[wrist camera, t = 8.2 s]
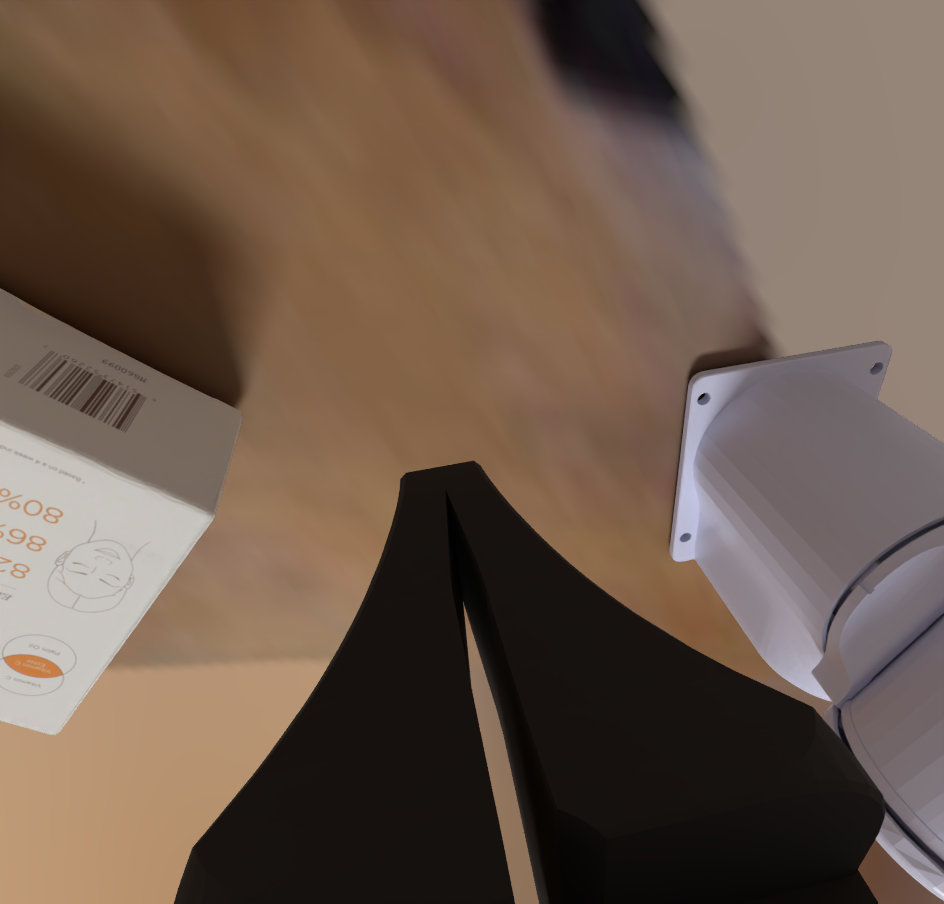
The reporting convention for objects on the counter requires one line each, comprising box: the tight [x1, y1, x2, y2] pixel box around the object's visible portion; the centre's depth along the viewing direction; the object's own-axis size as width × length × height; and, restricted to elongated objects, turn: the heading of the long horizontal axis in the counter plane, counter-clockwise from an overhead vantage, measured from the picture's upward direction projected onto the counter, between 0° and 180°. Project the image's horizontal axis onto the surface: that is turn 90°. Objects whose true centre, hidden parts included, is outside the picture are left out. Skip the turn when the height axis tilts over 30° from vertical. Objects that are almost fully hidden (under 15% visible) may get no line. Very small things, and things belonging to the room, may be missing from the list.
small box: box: [0, 288, 243, 735], centre depth 18 cm, size 8×6×10 cm
